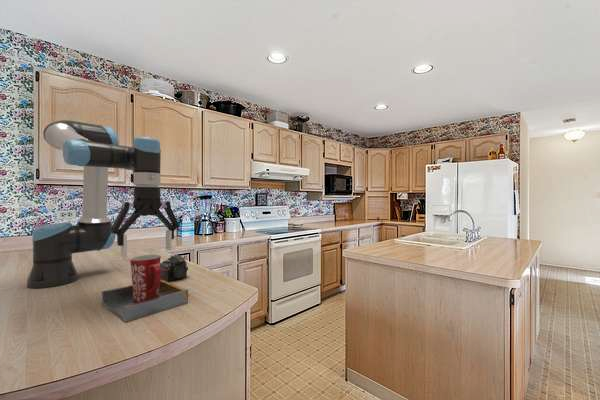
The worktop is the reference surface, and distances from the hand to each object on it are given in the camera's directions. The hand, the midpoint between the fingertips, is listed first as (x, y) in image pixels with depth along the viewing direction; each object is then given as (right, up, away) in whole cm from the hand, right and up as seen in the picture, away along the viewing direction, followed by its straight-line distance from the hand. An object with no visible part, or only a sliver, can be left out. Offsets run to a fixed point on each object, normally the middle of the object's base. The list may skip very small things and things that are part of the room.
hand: (147, 252), depth 90 cm
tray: (0, -16, -1) cm, 16 cm away
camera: (-3, -16, +25) cm, 30 cm away
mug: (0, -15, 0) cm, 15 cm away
